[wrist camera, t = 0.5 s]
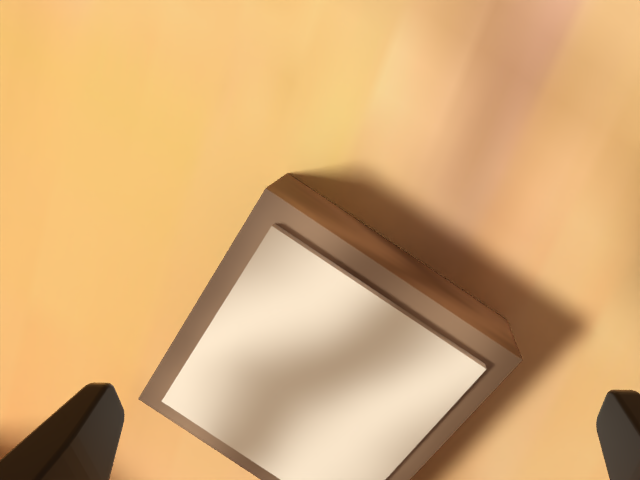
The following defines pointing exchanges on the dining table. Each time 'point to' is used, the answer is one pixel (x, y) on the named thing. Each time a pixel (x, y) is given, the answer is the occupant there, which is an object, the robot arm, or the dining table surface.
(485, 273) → the dining table surface
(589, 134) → the dining table surface
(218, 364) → the stand
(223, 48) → the dining table surface
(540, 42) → the dining table surface
